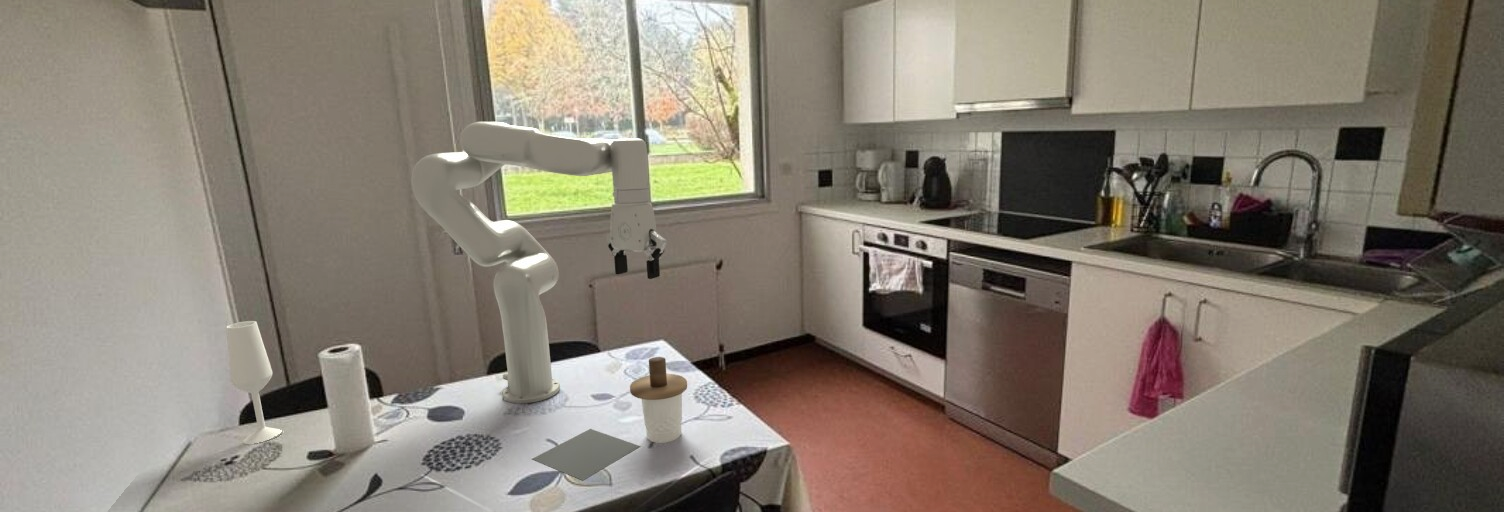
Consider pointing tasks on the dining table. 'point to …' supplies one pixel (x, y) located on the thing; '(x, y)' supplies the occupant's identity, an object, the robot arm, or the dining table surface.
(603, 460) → the mat
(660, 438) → the white cup
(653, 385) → the lid
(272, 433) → the champagne flute
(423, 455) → the dining table surface
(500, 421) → the dining table surface
